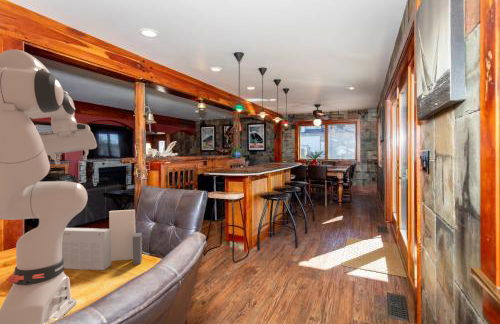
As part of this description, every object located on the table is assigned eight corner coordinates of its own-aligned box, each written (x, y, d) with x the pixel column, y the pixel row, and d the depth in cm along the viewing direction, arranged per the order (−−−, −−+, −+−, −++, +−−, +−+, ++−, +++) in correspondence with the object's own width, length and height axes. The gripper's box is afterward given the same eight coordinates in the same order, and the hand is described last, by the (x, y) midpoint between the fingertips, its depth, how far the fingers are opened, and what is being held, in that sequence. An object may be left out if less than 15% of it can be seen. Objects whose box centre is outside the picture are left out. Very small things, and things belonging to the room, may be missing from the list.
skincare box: (112, 265, 117) (111, 228, 116) (104, 270, 111) (103, 231, 111) (66, 263, 119) (65, 226, 118) (56, 268, 113) (55, 230, 113)
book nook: (140, 263, 118) (139, 213, 117) (106, 267, 115) (105, 214, 114) (142, 257, 126) (142, 209, 125) (110, 260, 122) (109, 210, 121)
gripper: (32, 130, 105) (38, 165, 104) (92, 124, 115) (99, 156, 114) (36, 135, 111) (42, 168, 110) (93, 129, 120) (100, 159, 119)
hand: (71, 162), depth 112 cm, fingers open, 8 cm apart
